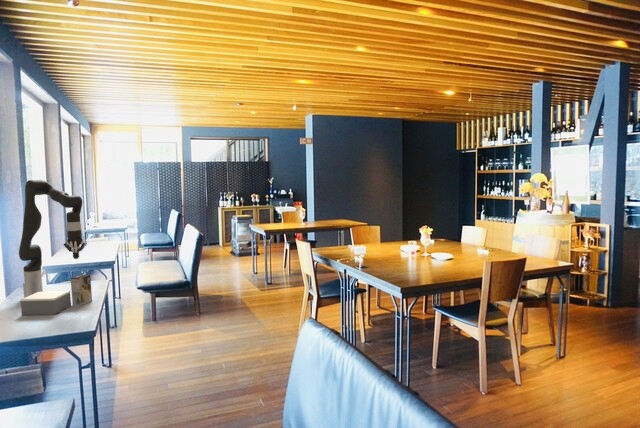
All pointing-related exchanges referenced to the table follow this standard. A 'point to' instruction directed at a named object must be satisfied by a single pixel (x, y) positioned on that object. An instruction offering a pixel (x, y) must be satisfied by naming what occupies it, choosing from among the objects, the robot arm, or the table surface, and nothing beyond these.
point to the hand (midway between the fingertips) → (76, 258)
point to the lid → (45, 296)
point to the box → (46, 306)
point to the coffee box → (81, 289)
